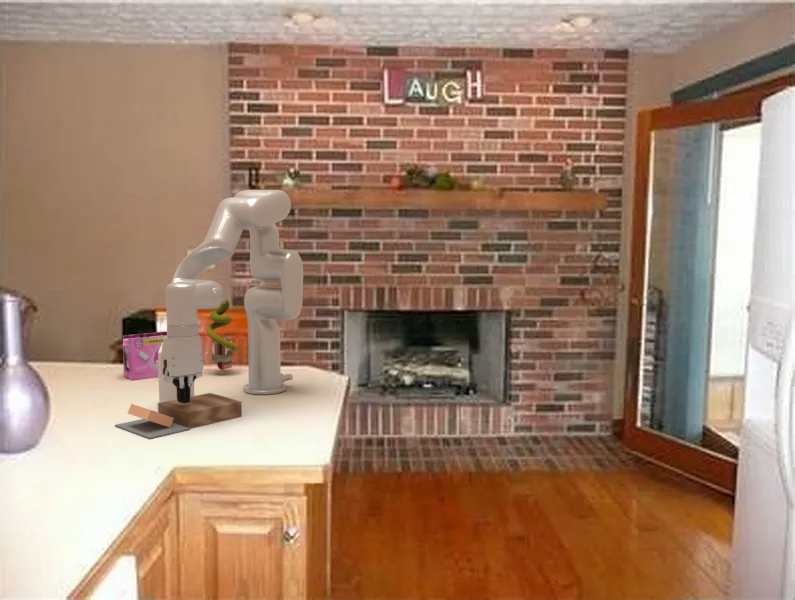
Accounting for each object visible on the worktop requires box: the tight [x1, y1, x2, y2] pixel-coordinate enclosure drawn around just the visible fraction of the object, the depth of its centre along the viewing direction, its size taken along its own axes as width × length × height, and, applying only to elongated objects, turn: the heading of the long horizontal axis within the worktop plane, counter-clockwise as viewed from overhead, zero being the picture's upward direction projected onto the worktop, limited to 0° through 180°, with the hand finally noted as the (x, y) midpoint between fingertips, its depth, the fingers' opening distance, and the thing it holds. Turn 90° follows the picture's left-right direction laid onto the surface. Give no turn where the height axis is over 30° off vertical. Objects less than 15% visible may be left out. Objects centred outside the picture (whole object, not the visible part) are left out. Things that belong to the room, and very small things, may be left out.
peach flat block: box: [127, 403, 174, 427], centre depth 190 cm, size 7×9×2 cm
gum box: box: [122, 331, 167, 381], centre depth 252 cm, size 24×8×14 cm, turn 130°
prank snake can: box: [206, 298, 239, 370], centre depth 254 cm, size 12×10×25 cm
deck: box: [157, 392, 243, 429], centre depth 200 cm, size 16×14×4 cm
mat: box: [114, 418, 191, 440], centre depth 190 cm, size 11×16×1 cm
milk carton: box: [158, 336, 195, 403], centre depth 214 cm, size 7×7×19 cm
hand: (183, 402), depth 196 cm, fingers closed
